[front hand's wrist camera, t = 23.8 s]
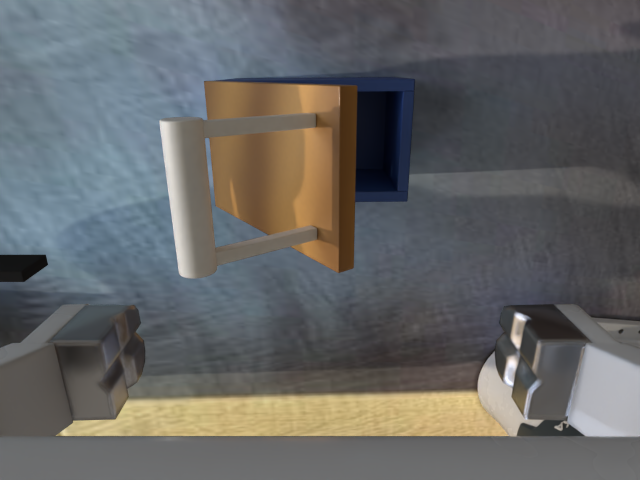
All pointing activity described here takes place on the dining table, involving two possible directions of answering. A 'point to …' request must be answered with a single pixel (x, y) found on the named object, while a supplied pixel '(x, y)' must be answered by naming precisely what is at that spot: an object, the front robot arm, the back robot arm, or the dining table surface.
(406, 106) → the chest
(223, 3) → the dining table surface
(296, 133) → the lid
